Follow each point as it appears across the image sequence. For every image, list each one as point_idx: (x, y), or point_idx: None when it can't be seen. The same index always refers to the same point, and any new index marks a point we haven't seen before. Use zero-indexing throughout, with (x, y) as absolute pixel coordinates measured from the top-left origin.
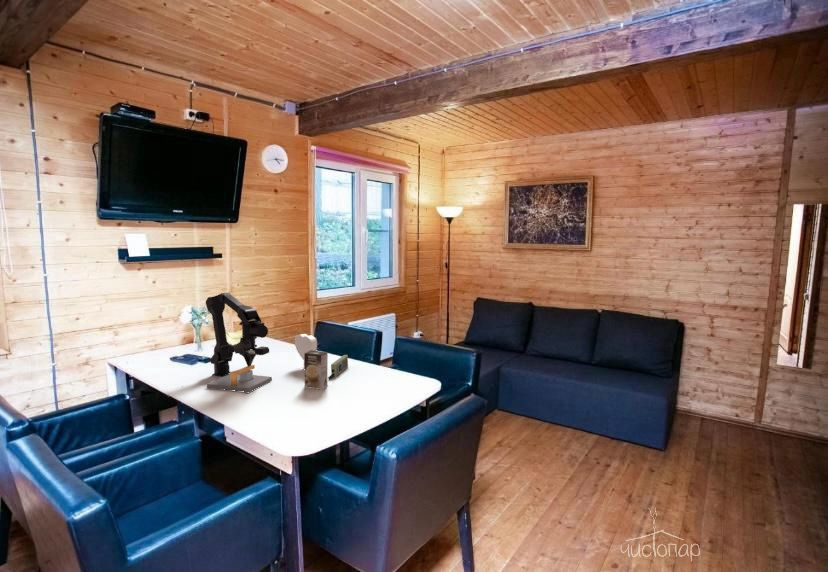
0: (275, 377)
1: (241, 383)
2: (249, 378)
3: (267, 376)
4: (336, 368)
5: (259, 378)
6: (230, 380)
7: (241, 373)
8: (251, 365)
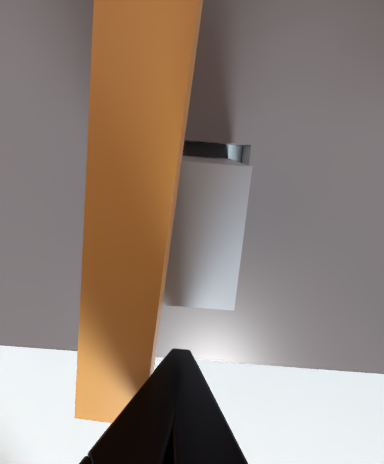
0: (38, 403)
1: None
2: None
3: (23, 345)
4: None
5: (56, 269)
6: (350, 122)
7: (217, 163)
8: (114, 384)
